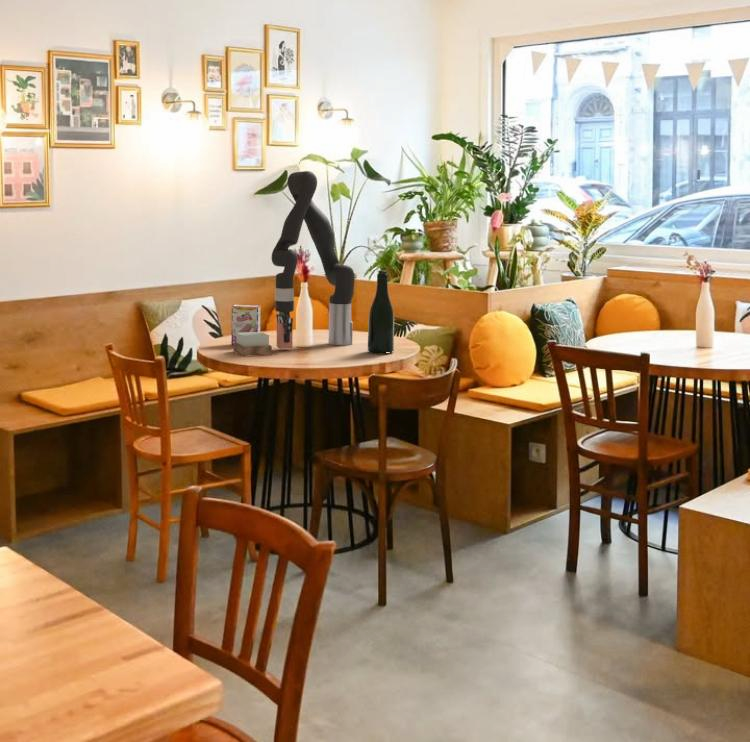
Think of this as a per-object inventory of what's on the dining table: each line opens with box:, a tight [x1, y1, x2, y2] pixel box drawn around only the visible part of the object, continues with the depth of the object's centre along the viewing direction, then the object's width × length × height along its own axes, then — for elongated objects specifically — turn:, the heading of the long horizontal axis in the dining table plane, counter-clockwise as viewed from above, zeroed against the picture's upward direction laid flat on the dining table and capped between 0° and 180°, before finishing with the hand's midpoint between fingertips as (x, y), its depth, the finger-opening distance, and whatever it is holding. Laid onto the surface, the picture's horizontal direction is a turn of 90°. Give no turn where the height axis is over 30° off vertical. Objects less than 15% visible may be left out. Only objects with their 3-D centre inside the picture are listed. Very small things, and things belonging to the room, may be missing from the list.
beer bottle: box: [367, 269, 395, 354], centre depth 429 cm, size 10×10×33 cm
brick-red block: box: [276, 321, 294, 350], centre depth 431 cm, size 5×5×10 cm
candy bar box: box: [230, 304, 262, 346], centre depth 441 cm, size 11×5×16 cm, turn 84°
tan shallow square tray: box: [233, 343, 273, 357], centre depth 422 cm, size 12×12×4 cm
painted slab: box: [236, 331, 270, 346], centre depth 422 cm, size 10×10×4 cm
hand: (284, 341), depth 431 cm, fingers closed on brick-red block, 5 cm apart
